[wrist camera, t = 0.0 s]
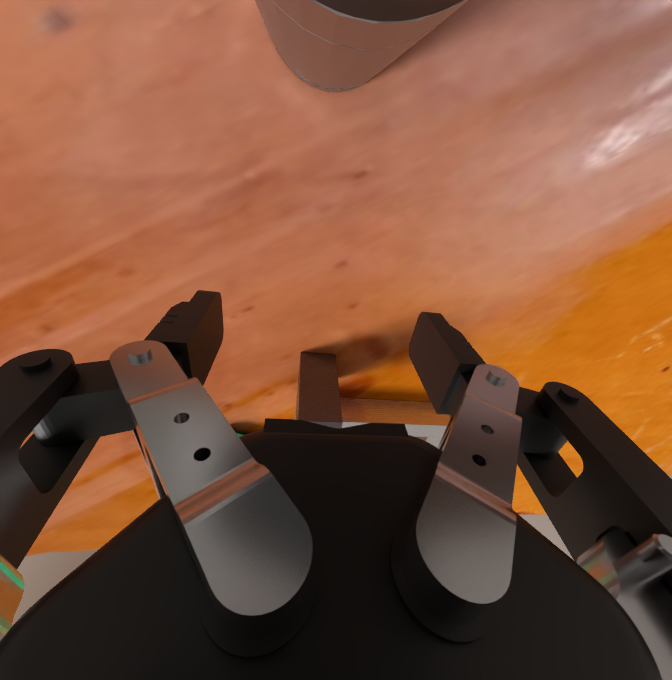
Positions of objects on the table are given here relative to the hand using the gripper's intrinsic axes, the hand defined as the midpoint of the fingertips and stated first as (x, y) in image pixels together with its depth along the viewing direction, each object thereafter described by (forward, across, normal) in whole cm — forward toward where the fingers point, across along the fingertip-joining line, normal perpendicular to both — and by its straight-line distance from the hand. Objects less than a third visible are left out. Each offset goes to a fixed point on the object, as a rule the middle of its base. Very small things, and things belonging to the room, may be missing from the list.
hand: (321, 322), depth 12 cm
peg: (+18, -2, +16) cm, 24 cm away
